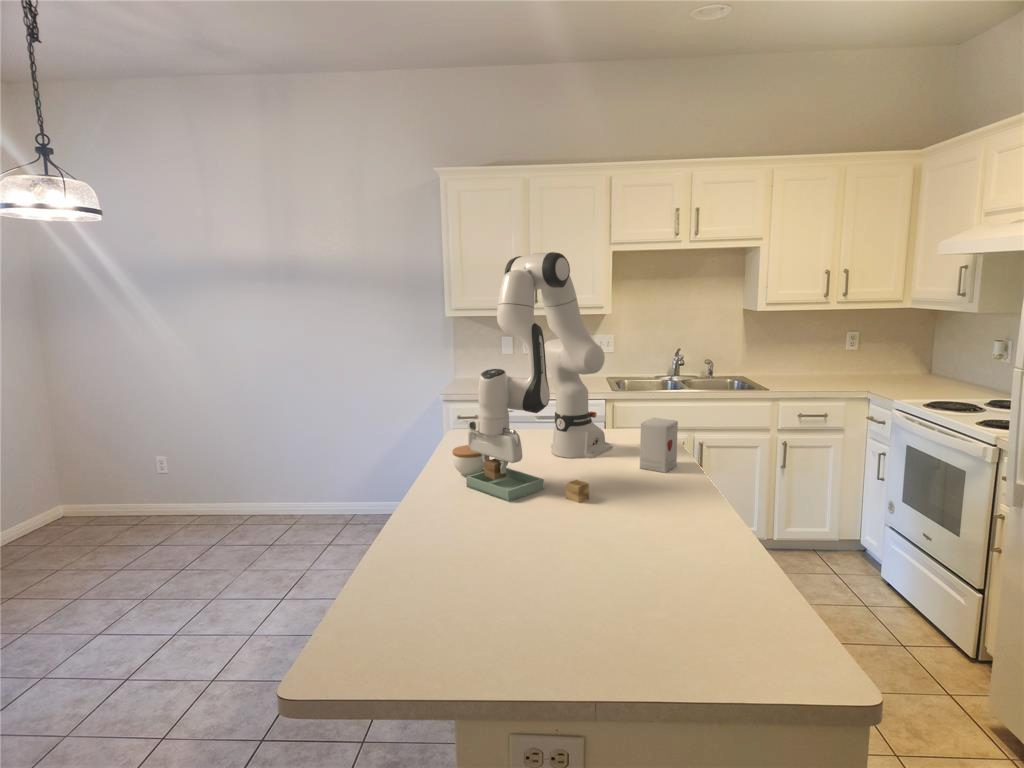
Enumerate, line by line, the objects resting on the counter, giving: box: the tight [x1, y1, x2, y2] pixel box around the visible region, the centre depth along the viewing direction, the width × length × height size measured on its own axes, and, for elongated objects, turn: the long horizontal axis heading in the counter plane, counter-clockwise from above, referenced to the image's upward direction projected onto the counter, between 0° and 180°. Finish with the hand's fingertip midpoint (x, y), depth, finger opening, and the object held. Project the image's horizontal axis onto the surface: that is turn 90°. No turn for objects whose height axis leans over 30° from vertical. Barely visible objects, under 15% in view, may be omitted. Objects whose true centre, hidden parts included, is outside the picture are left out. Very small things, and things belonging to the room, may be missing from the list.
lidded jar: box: [452, 444, 484, 477], centre depth 203 cm, size 11×11×9 cm
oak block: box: [565, 479, 590, 504], centre depth 179 cm, size 4×4×4 cm
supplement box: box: [639, 417, 679, 474], centre depth 205 cm, size 9×9×15 cm
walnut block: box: [483, 458, 506, 480], centre depth 191 cm, size 4×4×4 cm
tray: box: [465, 467, 545, 503], centre depth 189 cm, size 14×18×3 cm
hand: (495, 470), depth 191 cm, fingers closed on walnut block, 4 cm apart
